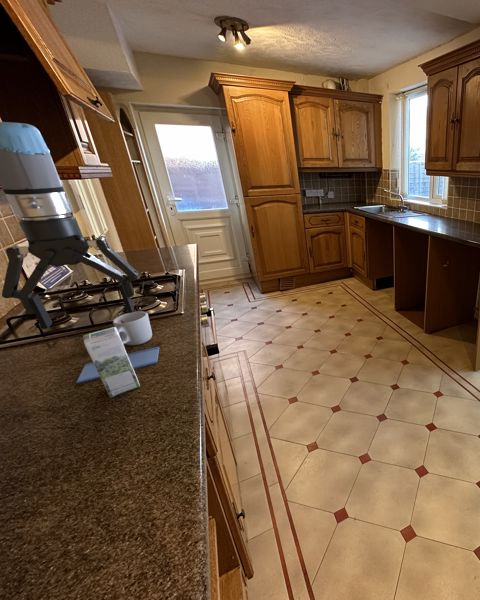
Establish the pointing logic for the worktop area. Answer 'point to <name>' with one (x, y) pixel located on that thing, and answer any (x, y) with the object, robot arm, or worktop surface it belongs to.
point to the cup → (133, 328)
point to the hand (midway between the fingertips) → (91, 318)
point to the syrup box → (111, 361)
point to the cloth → (135, 358)
